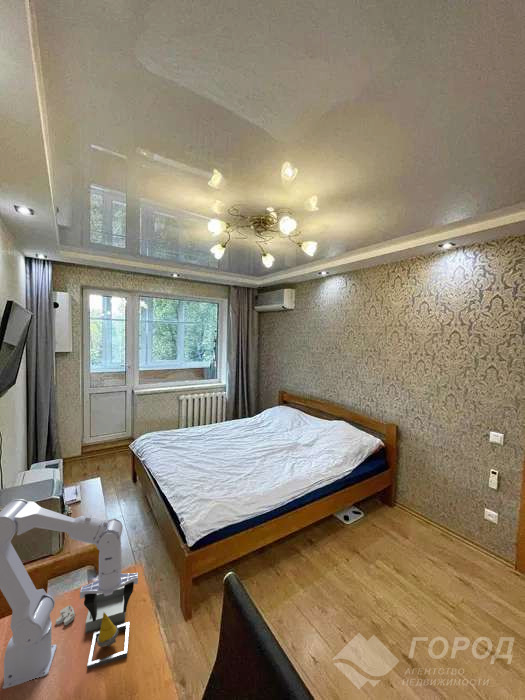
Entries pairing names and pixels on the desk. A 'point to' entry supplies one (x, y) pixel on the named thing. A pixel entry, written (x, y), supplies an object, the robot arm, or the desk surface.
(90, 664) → the grey square frame
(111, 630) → the drill bit
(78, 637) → the desk surface
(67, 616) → the game controller
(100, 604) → the bin
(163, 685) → the desk surface
